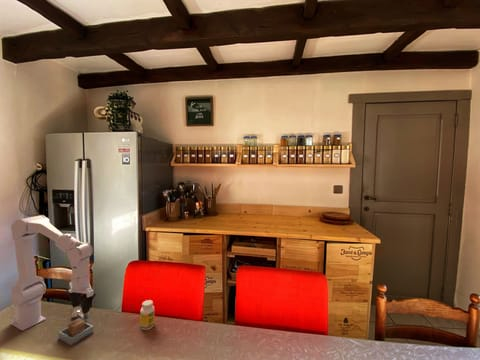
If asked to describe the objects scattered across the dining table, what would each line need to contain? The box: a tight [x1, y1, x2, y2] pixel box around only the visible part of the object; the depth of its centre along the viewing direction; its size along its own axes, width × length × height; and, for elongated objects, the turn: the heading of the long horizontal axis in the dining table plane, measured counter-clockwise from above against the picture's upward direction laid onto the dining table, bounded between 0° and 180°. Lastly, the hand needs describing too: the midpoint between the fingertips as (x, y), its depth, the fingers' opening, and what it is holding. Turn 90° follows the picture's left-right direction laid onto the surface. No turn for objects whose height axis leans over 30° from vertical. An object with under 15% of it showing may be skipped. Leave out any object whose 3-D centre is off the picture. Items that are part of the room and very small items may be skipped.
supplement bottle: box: [139, 299, 155, 331], centre depth 95 cm, size 5×5×10 cm
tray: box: [58, 321, 94, 347], centre depth 89 cm, size 8×8×2 cm
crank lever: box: [71, 307, 90, 322], centre depth 99 cm, size 12×4×6 cm, turn 55°
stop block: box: [67, 318, 86, 337], centre depth 89 cm, size 4×4×4 cm
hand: (80, 309), depth 92 cm, fingers open, 7 cm apart
